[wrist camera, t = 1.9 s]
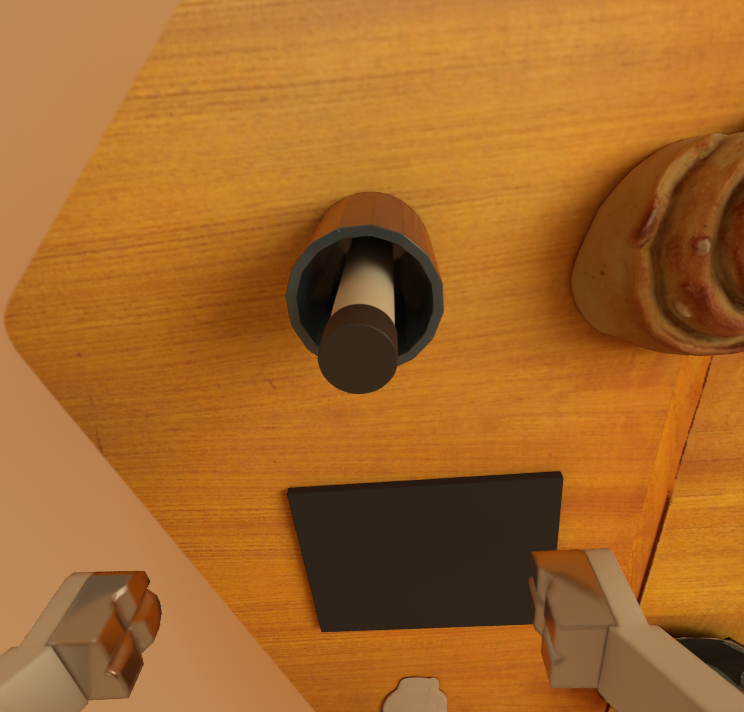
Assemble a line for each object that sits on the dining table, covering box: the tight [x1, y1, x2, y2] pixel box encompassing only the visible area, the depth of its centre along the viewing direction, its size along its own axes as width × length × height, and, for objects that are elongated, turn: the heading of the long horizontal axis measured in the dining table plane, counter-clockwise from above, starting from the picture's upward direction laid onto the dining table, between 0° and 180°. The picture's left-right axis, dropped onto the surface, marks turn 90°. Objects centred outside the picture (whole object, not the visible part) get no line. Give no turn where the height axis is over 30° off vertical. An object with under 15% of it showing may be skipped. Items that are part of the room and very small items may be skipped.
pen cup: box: [286, 192, 444, 366], centre depth 27 cm, size 7×7×9 cm
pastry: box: [571, 132, 744, 356], centre depth 26 cm, size 13×15×8 cm
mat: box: [287, 471, 563, 632], centre depth 43 cm, size 22×18×1 cm
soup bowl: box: [597, 637, 744, 702], centre depth 47 cm, size 15×16×7 cm
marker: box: [318, 236, 398, 394], centre depth 24 cm, size 3×3×14 cm
